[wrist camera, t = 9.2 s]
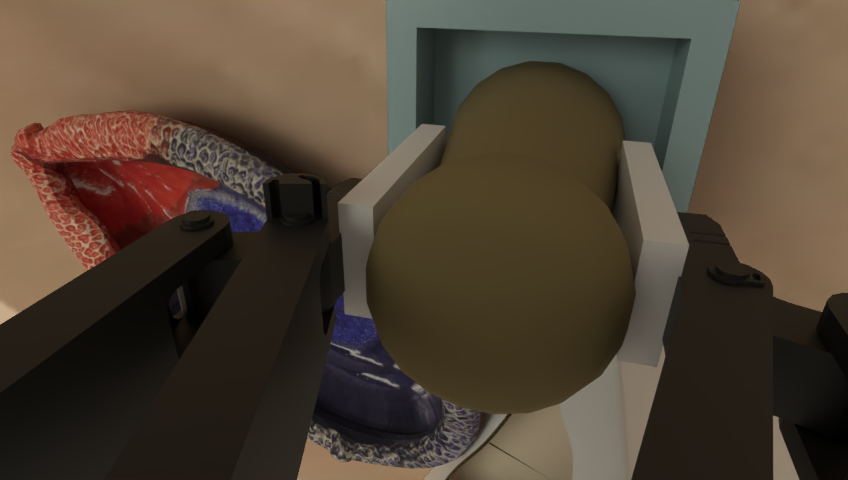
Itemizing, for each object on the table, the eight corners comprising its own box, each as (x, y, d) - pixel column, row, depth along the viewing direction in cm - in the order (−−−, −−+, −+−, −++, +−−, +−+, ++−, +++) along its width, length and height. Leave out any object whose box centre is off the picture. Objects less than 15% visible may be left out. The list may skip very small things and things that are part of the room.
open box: (446, -15, 24) (385, -9, 17) (689, -10, 22) (740, 0, 14) (440, 194, 29) (390, 272, 21) (641, 217, 26) (661, 312, 19)
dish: (407, 465, 39) (384, 527, 34) (49, 197, 37) (-23, 227, 32) (556, 343, 31) (551, 403, 27) (114, -6, 29) (30, -2, 24)
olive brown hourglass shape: (628, 50, 17) (686, 156, 7) (624, 229, 19) (662, 484, 10) (439, 69, 18) (283, 175, 9) (458, 231, 21) (351, 448, 11)
